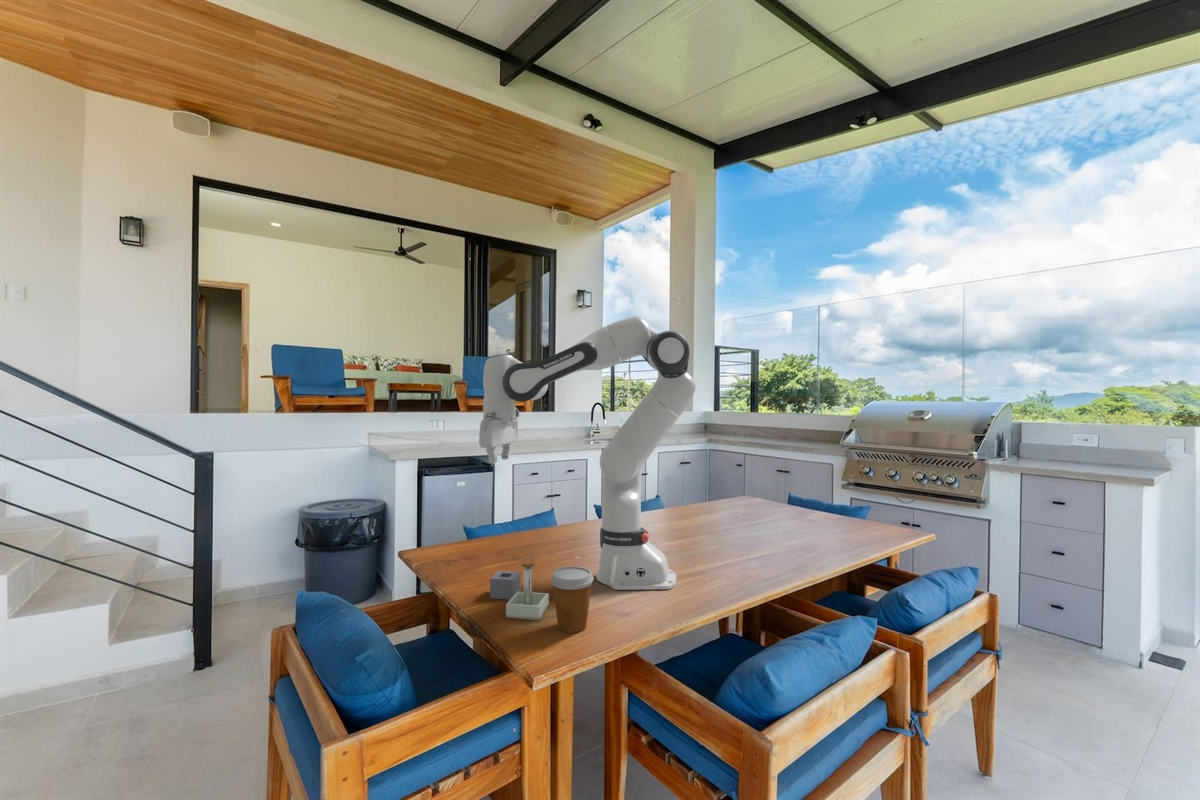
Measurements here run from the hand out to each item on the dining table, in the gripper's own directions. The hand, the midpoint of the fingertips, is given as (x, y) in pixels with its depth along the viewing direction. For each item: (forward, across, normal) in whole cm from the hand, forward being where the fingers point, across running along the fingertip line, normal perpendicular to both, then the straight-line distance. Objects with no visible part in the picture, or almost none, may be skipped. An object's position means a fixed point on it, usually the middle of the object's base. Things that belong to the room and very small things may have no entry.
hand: (499, 461), depth 141 cm
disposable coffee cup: (+33, -26, -27) cm, 50 cm away
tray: (+33, -20, -15) cm, 41 cm away
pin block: (+33, -11, -6) cm, 35 cm away
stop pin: (+32, -20, -15) cm, 41 cm away
